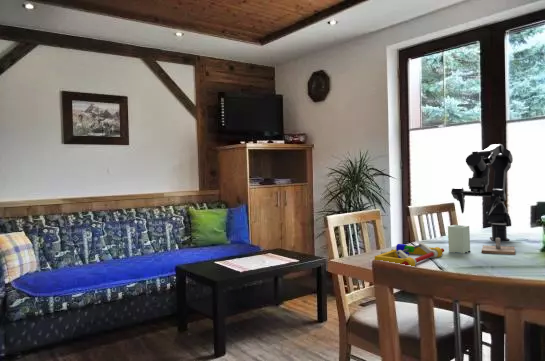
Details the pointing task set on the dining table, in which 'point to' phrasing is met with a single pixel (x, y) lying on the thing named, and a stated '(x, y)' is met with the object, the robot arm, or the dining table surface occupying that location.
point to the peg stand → (498, 249)
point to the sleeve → (459, 238)
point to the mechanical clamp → (403, 253)
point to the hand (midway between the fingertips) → (475, 213)
